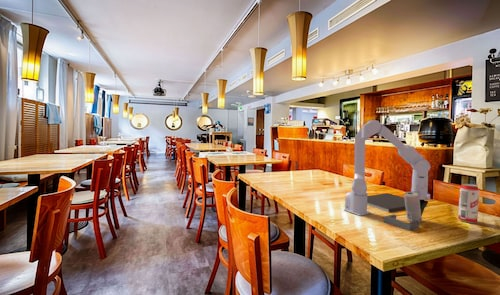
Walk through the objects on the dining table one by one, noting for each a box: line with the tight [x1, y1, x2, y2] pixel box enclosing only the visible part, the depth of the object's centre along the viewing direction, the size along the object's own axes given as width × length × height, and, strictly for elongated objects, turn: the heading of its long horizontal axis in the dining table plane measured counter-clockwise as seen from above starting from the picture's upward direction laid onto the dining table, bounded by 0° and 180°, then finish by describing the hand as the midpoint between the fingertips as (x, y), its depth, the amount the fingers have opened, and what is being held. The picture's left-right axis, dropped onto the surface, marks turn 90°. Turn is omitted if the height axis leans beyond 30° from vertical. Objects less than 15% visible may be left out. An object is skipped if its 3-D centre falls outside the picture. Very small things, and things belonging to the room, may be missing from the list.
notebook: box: [367, 192, 406, 213], centre depth 133 cm, size 22×2×28 cm
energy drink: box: [403, 191, 423, 223], centre depth 105 cm, size 5×5×12 cm
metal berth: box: [383, 213, 420, 232], centre depth 101 cm, size 10×7×2 cm, turn 29°
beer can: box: [457, 183, 480, 224], centre depth 106 cm, size 6×6×16 cm
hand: (418, 216), depth 107 cm, fingers closed
